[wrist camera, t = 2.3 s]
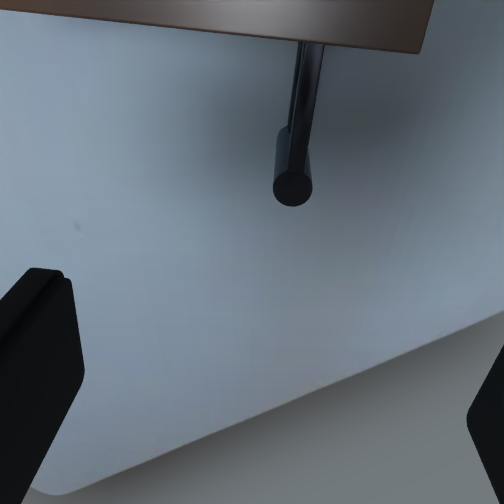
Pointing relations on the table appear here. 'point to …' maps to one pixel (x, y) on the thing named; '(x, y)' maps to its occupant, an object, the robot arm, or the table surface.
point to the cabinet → (264, 18)
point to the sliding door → (298, 130)
